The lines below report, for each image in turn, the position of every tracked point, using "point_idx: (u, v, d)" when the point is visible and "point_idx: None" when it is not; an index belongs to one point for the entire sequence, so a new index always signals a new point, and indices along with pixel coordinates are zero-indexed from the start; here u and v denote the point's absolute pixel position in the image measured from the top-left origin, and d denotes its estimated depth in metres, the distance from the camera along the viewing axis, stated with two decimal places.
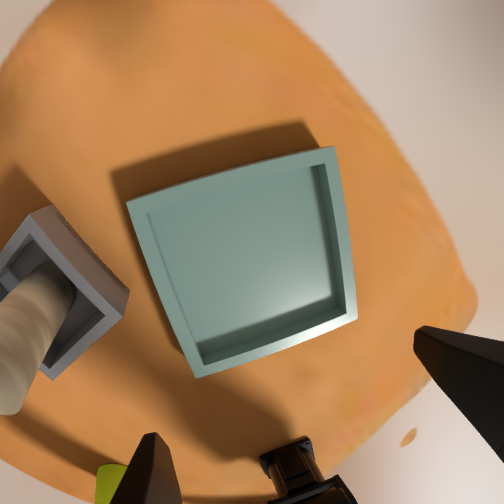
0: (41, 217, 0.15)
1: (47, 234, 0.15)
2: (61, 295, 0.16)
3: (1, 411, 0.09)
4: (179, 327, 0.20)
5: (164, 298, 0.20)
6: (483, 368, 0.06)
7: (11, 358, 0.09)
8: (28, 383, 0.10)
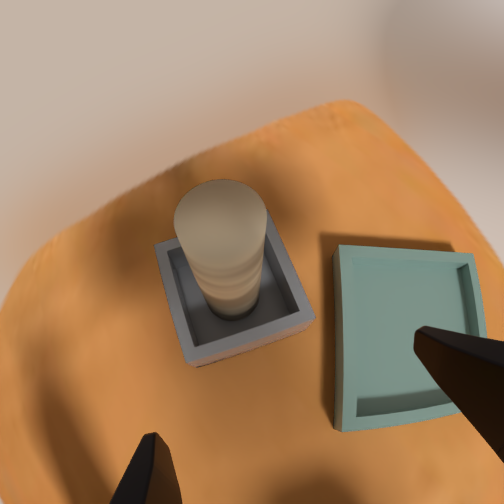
0: None
1: None
2: None
3: (204, 251, 0.12)
4: (350, 363, 0.19)
5: (346, 330, 0.20)
6: (483, 368, 0.06)
7: None
8: (256, 253, 0.14)
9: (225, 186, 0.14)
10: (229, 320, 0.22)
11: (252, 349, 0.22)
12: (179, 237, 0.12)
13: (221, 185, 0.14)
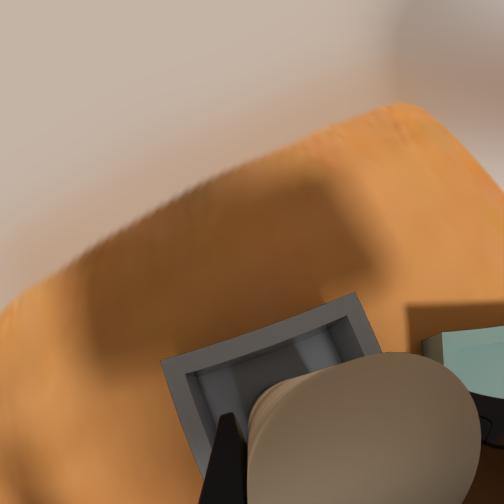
0: None
1: None
2: None
3: None
4: None
5: None
6: None
7: None
8: None
9: (393, 381, 0.04)
10: None
11: None
12: None
13: (382, 376, 0.04)
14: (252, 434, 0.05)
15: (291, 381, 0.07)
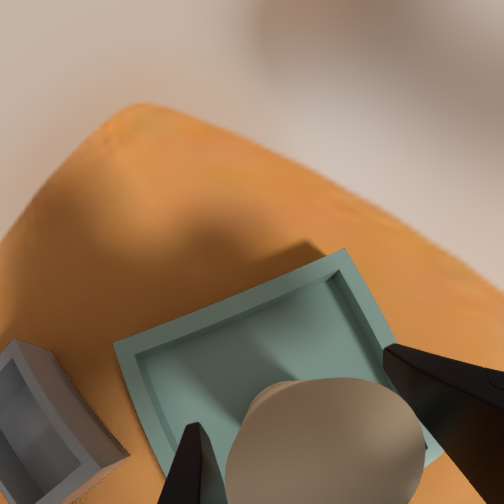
0: (28, 349, 0.13)
1: (28, 362, 0.12)
2: None
3: None
4: None
5: (162, 459, 0.12)
6: (451, 394, 0.06)
7: None
8: None
9: (342, 400, 0.05)
10: None
11: (90, 488, 0.12)
12: None
13: (332, 396, 0.05)
14: None
15: (273, 389, 0.08)
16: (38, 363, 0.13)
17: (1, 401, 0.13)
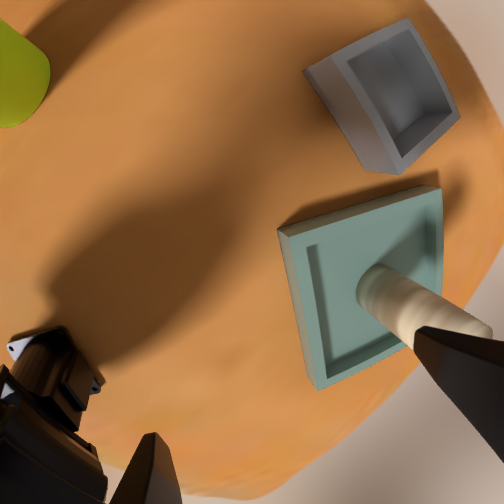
0: None
1: None
2: None
3: None
4: (355, 222, 0.20)
5: (382, 210, 0.20)
6: (483, 368, 0.06)
7: None
8: None
9: None
10: (358, 285, 0.23)
11: (337, 122, 0.19)
12: (476, 334, 0.13)
13: None
14: None
15: None
16: None
17: (406, 63, 0.18)
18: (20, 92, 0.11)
